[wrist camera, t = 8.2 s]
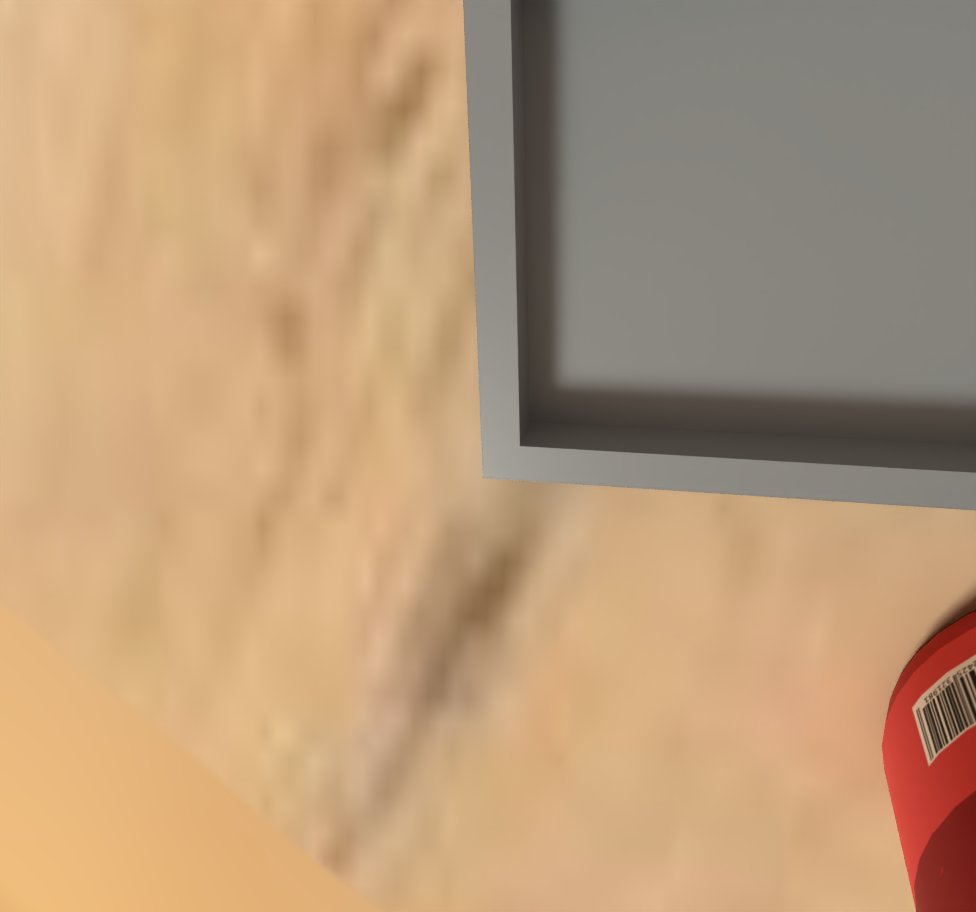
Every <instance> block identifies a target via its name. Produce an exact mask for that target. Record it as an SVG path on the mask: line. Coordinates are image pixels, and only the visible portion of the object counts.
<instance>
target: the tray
mask: <svg viewBox="0 0 976 912" xmlns="http://www.w3.org/2000/svg"><path fill="white" fill-rule="evenodd" d="M463 7H464V31H465V56H466V80H467V104H468V128H469V152H470V176H471V200H472V224H473V248H474V272H475V296H476V321H477V345H478V369H479V393H480V417H481V441H482V465H483V478H490V479H505V480H521V481H536V482H551V483H566V484H582V485H597V486H612V487H627V488H643V489H658V490H673V491H688V492H704V493H719V494H734V495H749V496H765V497H780V498H795V499H810V500H826V501H841V502H856V503H871V504H887V505H902V506H917V507H932V508H948V509H963V510H976V0H463Z"/></svg>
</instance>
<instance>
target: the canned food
mask: <svg viewBox="0 0 976 912" xmlns="http://www.w3.org/2000/svg"><path fill="white" fill-rule="evenodd" d="M882 751H883V760H884V769H885V774H886V779H887V783H888V787H889V792H890V796H891V801H892V805H893V810H894V814H895V819H896V823H897V827H898V832H899V836H900V841H901V845H902V850H903V854H904V859H905V863H906V867H907V872H908V876H909V881H910V885H911V890H912V894H913V898H914V903H915V907H916V912H976V611H975V612H973V613H971V614H968V615H966V616H964V617H963V618H961V619H960V620H958V621H957V622H955V623H953V624H952V625H950V626H949V627H947V628H946V629H944V630H943V631H941V632H939V633H938V634H937V635H936V636H935V637H934V638H933V639H932V640H930V641H929V642H928V643H927V644H926V645H925V646H924V647H923V648H922V649H921V650H920V651H919V652H917V653H916V655H915V656H914V657H913V659H912V660H911V662H910V663H909V664H908V666H907V667H906V668H905V670H904V671H903V673H902V674H901V675H900V677H899V680H898V682H897V684H896V687H895V689H894V691H893V694H892V696H891V698H890V702H889V708H888V713H887V718H886V723H885V730H884V736H883V742H882Z"/></svg>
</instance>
